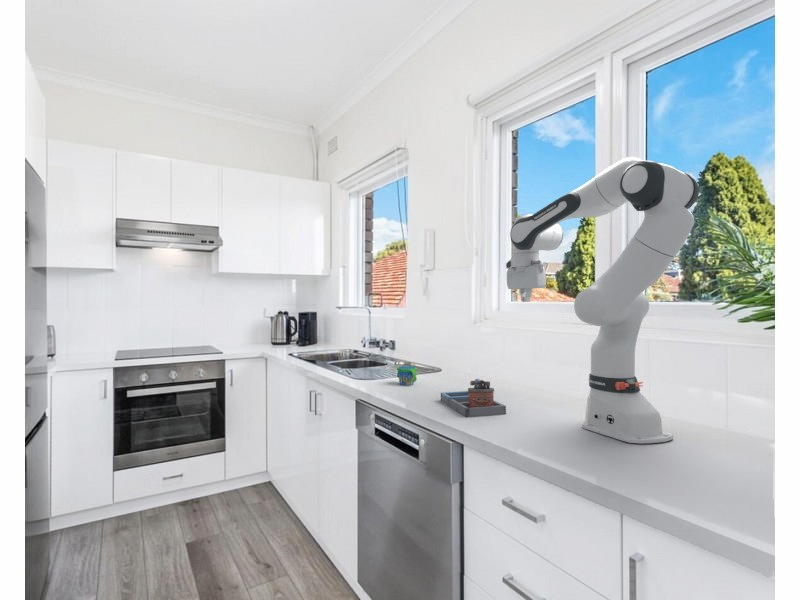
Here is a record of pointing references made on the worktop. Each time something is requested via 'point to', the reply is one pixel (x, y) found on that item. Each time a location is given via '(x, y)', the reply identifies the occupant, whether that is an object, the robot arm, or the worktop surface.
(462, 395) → the divider tray
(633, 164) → the robot arm
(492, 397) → the lighter
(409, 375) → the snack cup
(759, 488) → the worktop surface
